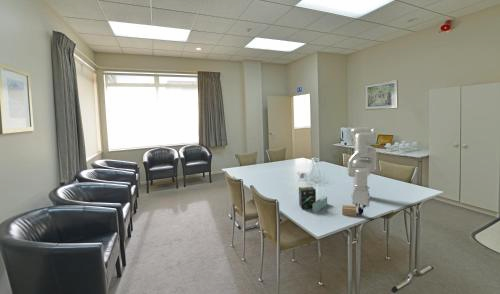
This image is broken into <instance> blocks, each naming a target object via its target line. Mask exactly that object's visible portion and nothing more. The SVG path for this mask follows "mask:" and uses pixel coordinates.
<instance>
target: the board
mask: <svg viewBox="0 0 500 294" xmlns="http://www.w3.org/2000/svg"><path fill="white" fill-rule="evenodd" d="M327 205H328V196H324V195H323V196H321V197H320V198H319V199H316V202H314V203H313V204H312V206H313V209H312V213H315V214H316V213H318V212H319V211H320V210H322V209H323V208H324V207H327Z"/></svg>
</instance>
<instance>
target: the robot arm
mask: <svg viewBox="0 0 500 294" xmlns="http://www.w3.org/2000/svg"><path fill="white" fill-rule="evenodd" d="M350 134H351V137H352V138H353V141H354V153H353V154H352V155H351V156H350V157H349V159H348V161H347V176H349V177H350V178H353V181H352V182H353V188H352V189H353V192H352V193H351V197H352V200H351V201H352V205H353V206H356V208H357V213H358V215H362V214H364V209H365V208H369V207H370V200H371V199H370V186H368V178H369V177H370V175H371V172H375V171H376V169H377V149H376V147H374V146H368V145H375V144H377V142H378V135H377V130H376V128H375V127H370V126H366V127H364V126H363V127H352V128H351V129H350Z"/></svg>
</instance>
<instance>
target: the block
mask: <svg viewBox="0 0 500 294" xmlns="http://www.w3.org/2000/svg"><path fill="white" fill-rule="evenodd" d="M341 210H342V214H341V215H343V216H350V217H357V214H358V208H357V206H356V205H353V204H352V205H351V204H342V209H341Z"/></svg>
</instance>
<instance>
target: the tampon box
mask: <svg viewBox="0 0 500 294" xmlns="http://www.w3.org/2000/svg"><path fill="white" fill-rule="evenodd" d="M316 195H317V190H316V189H315V187H314V186H300V187H298V203H299V206H300V208H301V210H313V206H312V204H313V203H314V202H316V201H317V198H316V197H317V196H316Z"/></svg>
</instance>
